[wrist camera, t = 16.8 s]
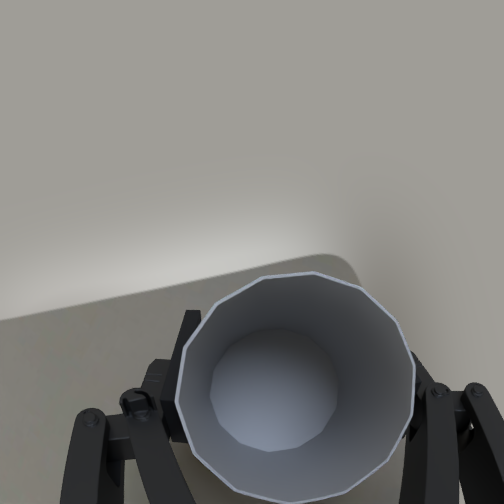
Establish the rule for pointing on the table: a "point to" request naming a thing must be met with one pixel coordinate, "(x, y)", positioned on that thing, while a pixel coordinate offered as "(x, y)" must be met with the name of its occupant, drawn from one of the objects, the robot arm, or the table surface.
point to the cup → (295, 388)
